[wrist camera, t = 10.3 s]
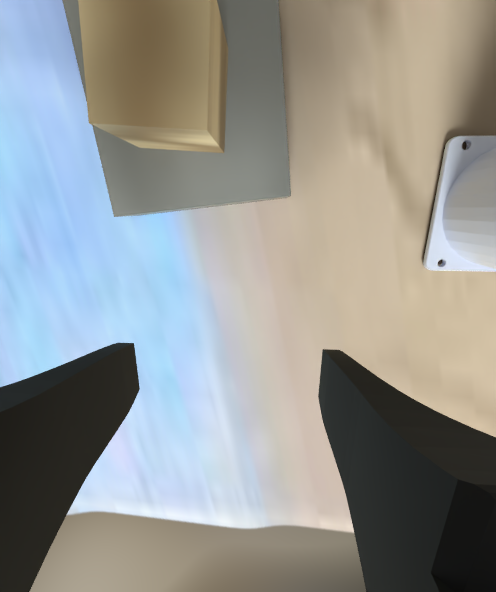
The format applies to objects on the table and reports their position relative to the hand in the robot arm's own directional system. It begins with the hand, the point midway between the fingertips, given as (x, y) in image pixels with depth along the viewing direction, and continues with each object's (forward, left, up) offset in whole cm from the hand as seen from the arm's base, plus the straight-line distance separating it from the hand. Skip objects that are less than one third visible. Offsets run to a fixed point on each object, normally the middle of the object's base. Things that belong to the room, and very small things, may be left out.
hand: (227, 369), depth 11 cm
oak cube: (+3, -11, -7) cm, 13 cm away
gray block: (+3, -11, -11) cm, 16 cm away
